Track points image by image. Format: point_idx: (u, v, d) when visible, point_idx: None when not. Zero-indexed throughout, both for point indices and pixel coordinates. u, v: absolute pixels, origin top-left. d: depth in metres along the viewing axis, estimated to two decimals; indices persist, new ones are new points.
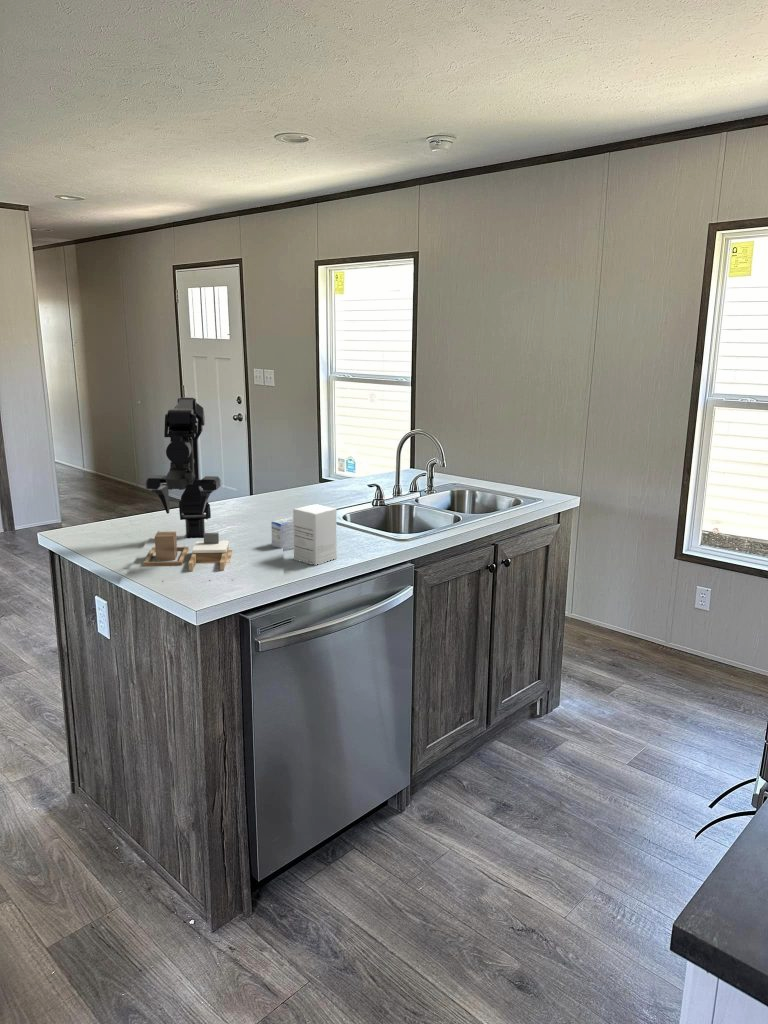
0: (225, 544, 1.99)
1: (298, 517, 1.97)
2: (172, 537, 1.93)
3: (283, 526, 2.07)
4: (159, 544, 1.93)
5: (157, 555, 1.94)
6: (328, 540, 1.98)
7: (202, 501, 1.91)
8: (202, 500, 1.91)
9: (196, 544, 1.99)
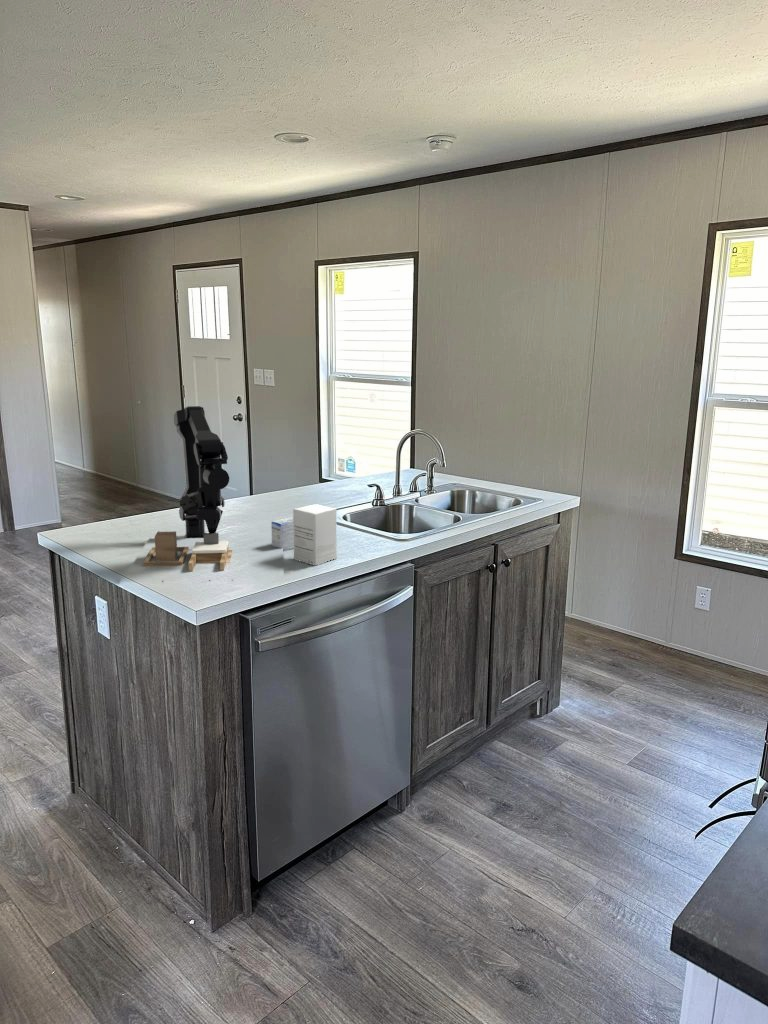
0: (225, 544, 1.99)
1: (298, 517, 1.97)
2: (172, 537, 1.93)
3: (283, 526, 2.07)
4: (159, 544, 1.93)
5: (157, 555, 1.94)
6: (328, 540, 1.98)
7: (206, 524, 2.00)
8: None
9: (196, 544, 1.98)
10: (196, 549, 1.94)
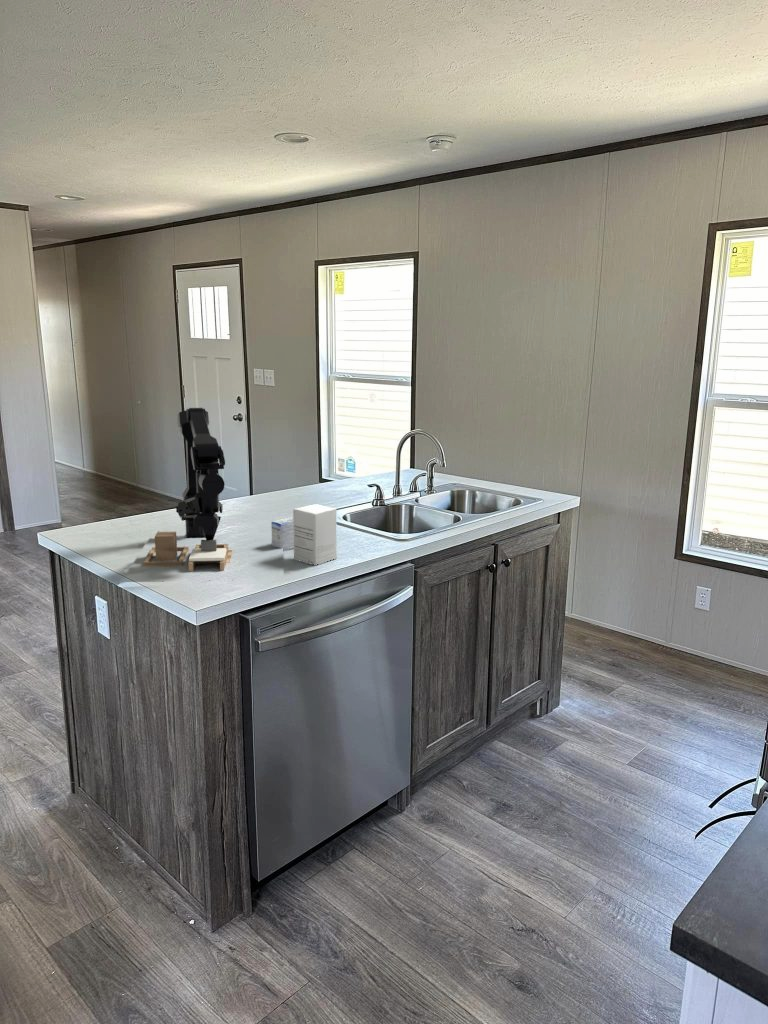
0: (223, 552, 1.92)
1: (298, 517, 1.97)
2: (172, 537, 1.93)
3: (283, 526, 2.07)
4: (159, 544, 1.93)
5: (157, 555, 1.94)
6: (328, 540, 1.98)
7: (204, 531, 1.93)
8: (204, 530, 1.93)
9: (193, 552, 1.91)
10: (193, 557, 1.87)
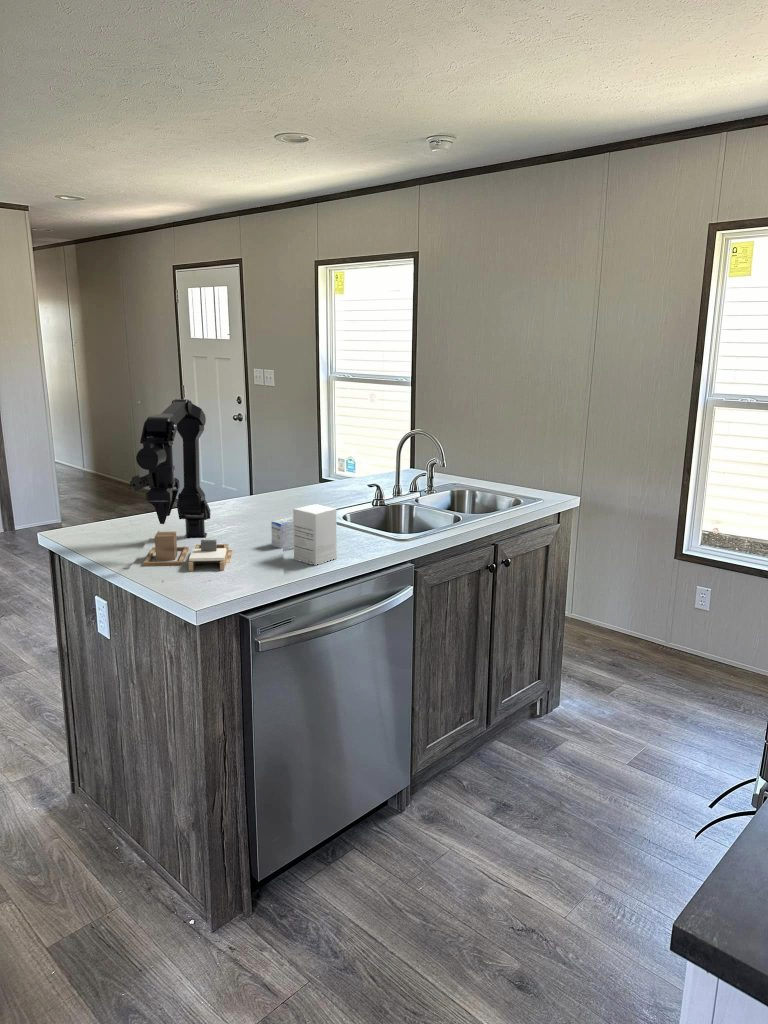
0: (223, 552, 1.92)
1: (298, 517, 1.97)
2: (172, 537, 1.93)
3: (283, 526, 2.07)
4: (159, 544, 1.93)
5: (157, 555, 1.94)
6: (328, 540, 1.98)
7: None
8: None
9: (193, 552, 1.91)
10: (193, 557, 1.87)
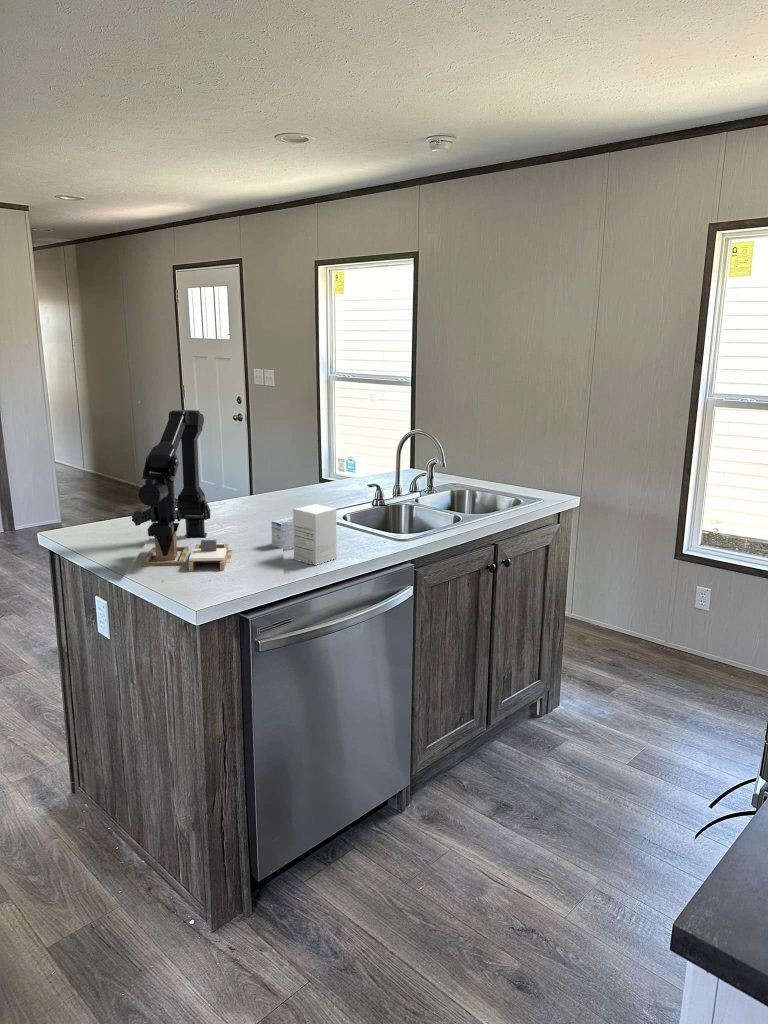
0: (223, 552, 1.92)
1: (298, 517, 1.97)
2: None
3: (283, 526, 2.07)
4: None
5: (157, 555, 1.94)
6: (328, 540, 1.98)
7: None
8: None
9: (193, 552, 1.91)
10: (193, 557, 1.87)
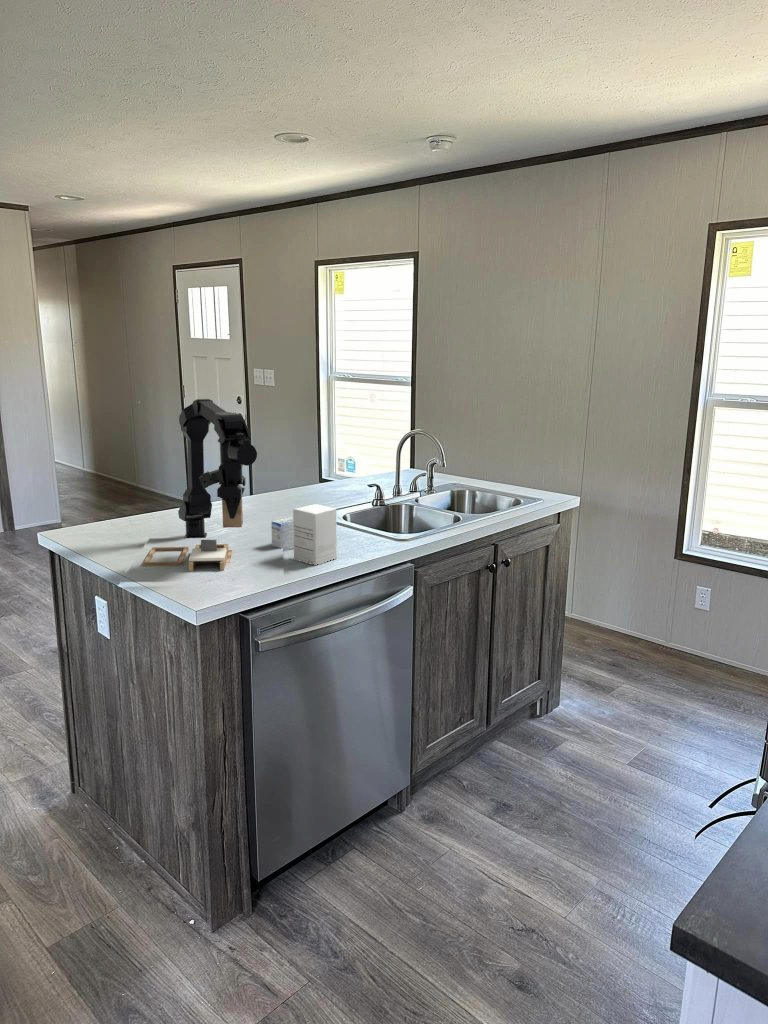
0: (223, 552, 1.92)
1: (298, 517, 1.97)
2: None
3: (283, 526, 2.07)
4: (226, 507, 1.93)
5: (224, 518, 1.94)
6: (328, 540, 1.98)
7: None
8: None
9: (193, 552, 1.91)
10: (193, 557, 1.87)
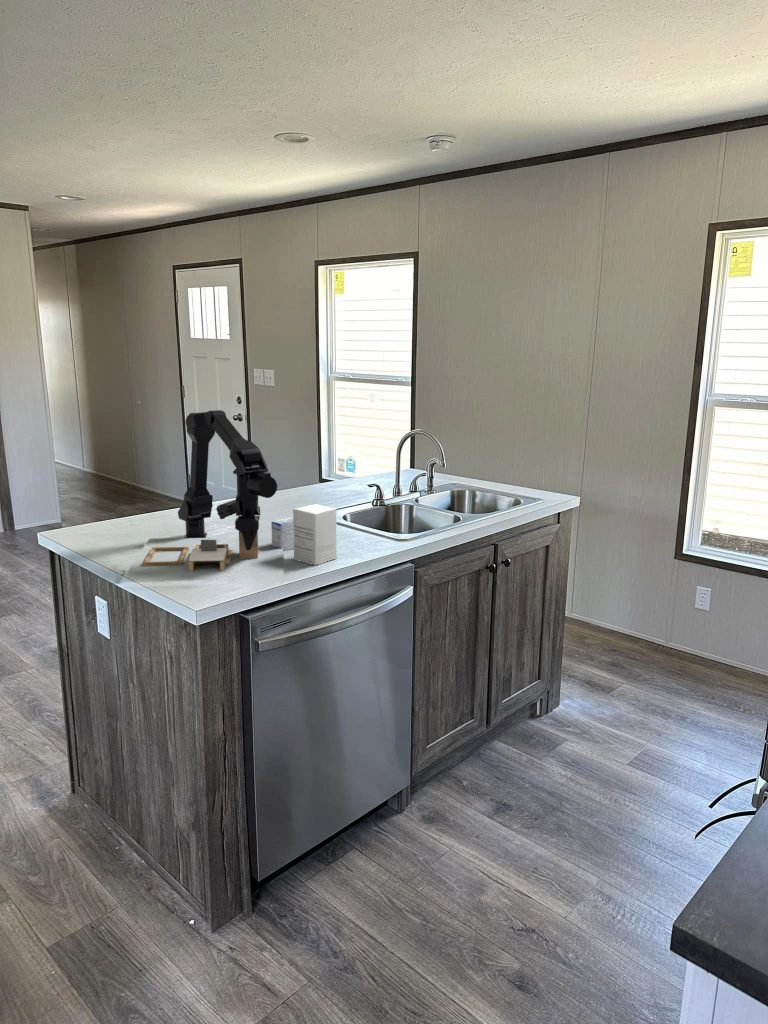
0: (223, 552, 1.92)
1: (298, 517, 1.97)
2: None
3: (283, 526, 2.07)
4: (243, 540, 1.96)
5: (240, 551, 1.97)
6: (328, 540, 1.98)
7: (243, 537, 1.94)
8: (243, 536, 1.94)
9: (193, 552, 1.91)
10: (193, 557, 1.87)
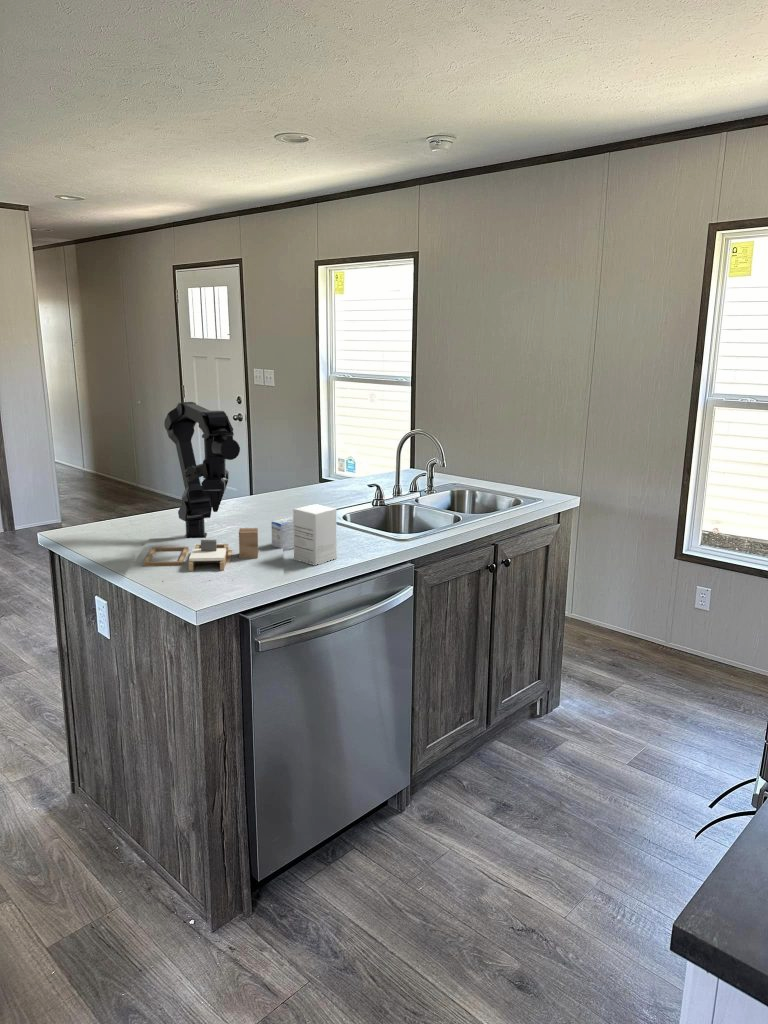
0: (223, 552, 1.92)
1: (298, 517, 1.97)
2: (255, 533, 1.96)
3: (283, 526, 2.07)
4: (243, 540, 1.96)
5: (240, 551, 1.97)
6: (328, 540, 1.98)
7: (210, 499, 2.01)
8: (210, 498, 2.01)
9: (193, 552, 1.91)
10: (193, 557, 1.87)
